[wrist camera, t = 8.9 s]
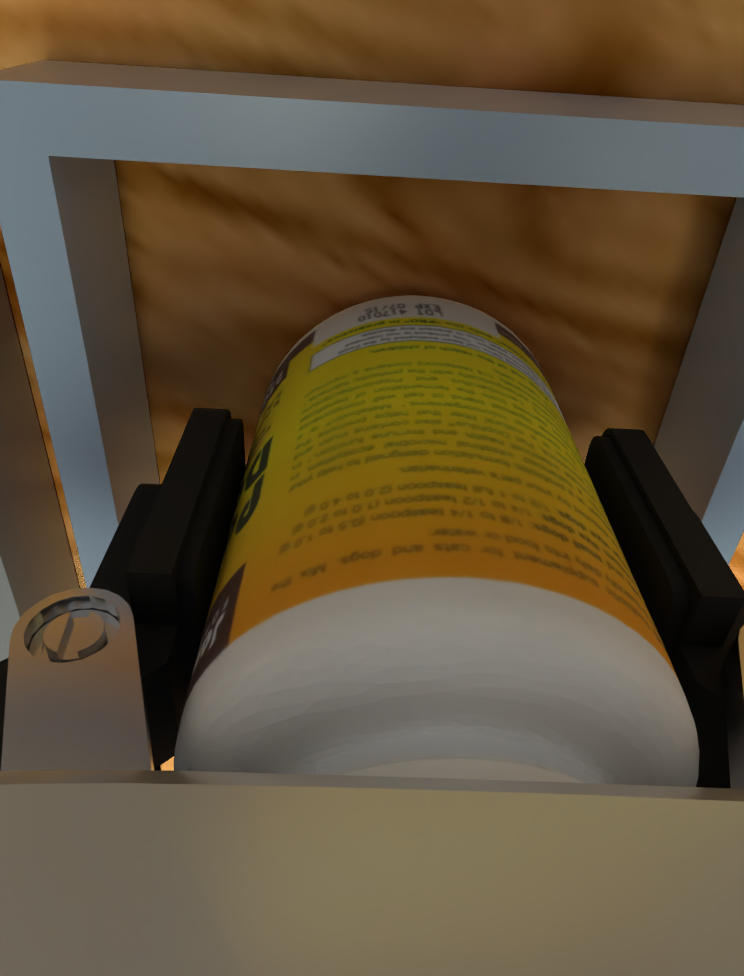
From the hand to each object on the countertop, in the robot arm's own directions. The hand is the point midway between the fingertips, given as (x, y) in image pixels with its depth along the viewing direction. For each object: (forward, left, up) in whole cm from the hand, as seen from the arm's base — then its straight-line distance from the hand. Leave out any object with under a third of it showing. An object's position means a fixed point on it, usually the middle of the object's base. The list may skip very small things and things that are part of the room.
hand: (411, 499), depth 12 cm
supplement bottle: (0, 0, -3) cm, 3 cm away
